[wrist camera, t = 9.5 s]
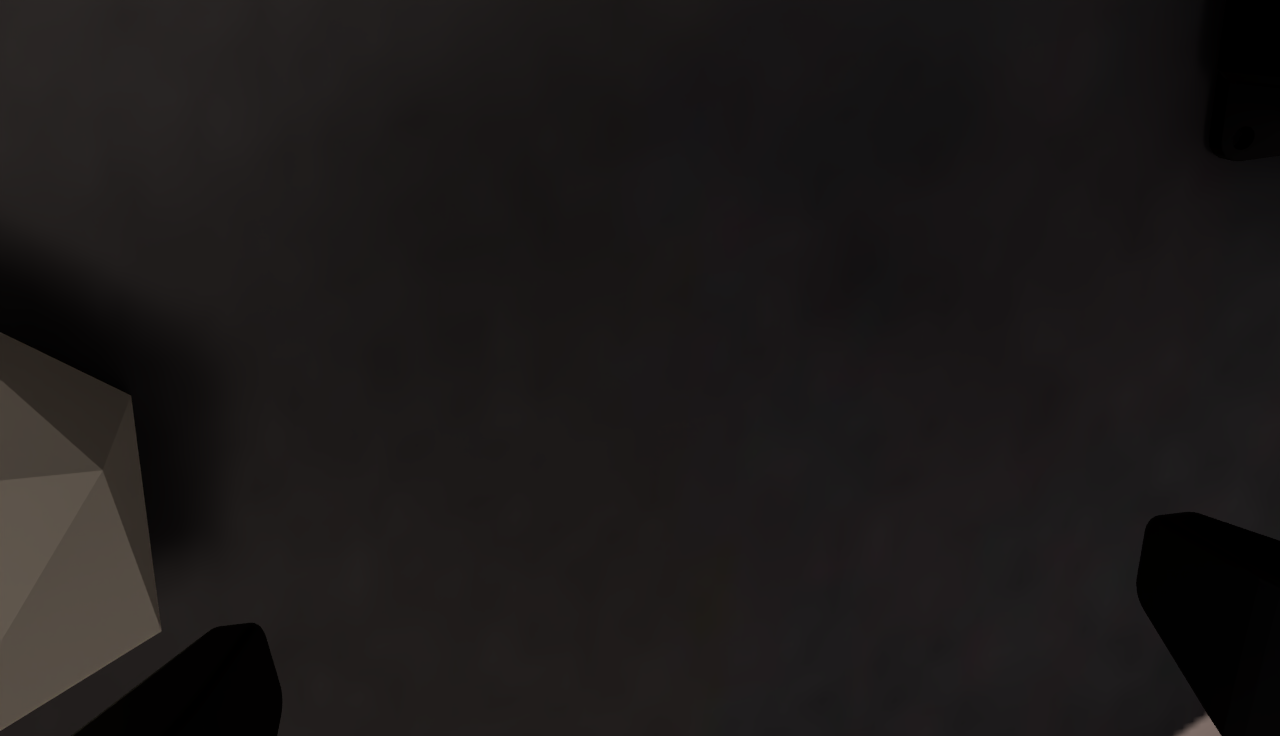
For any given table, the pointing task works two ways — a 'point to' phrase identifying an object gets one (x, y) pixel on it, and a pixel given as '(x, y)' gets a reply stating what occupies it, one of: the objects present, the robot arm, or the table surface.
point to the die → (67, 530)
